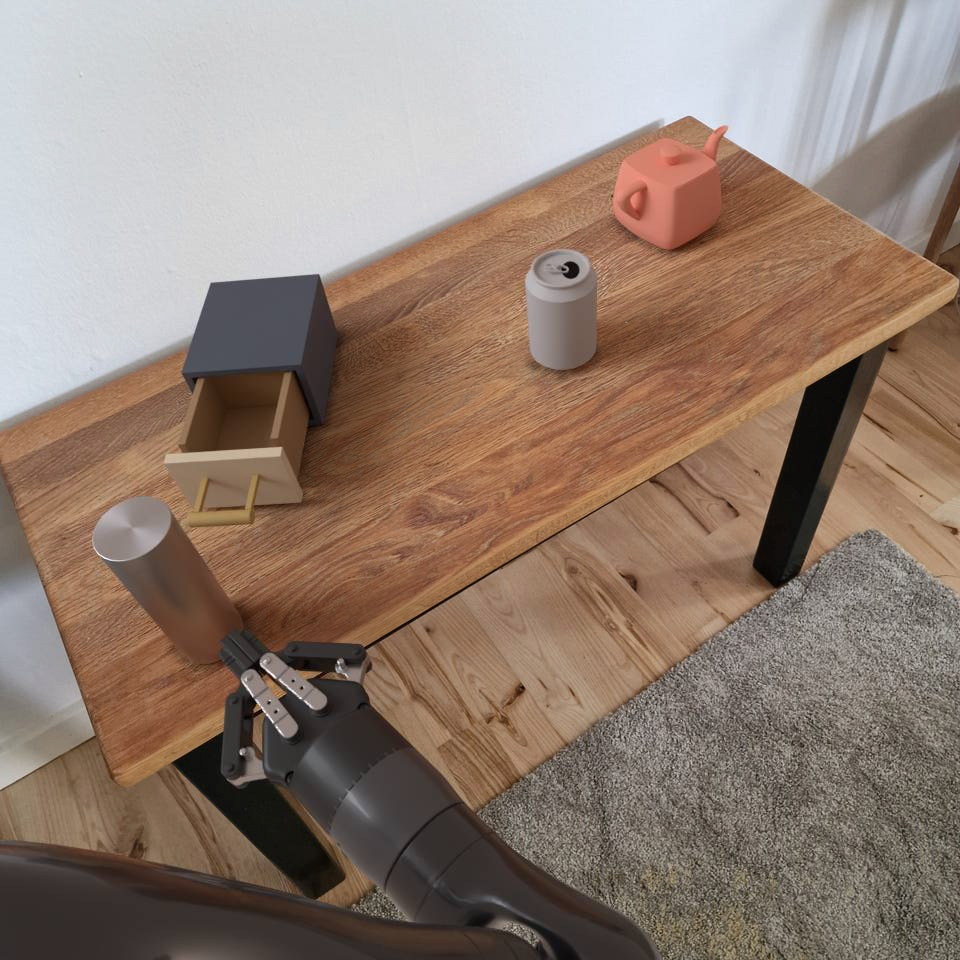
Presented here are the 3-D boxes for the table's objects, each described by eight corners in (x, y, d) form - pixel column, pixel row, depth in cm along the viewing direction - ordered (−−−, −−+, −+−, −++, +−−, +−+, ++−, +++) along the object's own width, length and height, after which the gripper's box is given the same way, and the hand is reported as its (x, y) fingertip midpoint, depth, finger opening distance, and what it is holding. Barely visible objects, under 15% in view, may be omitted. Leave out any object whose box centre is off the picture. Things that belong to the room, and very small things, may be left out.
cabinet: (323, 424, 90) (301, 364, 83) (212, 432, 91) (180, 372, 84) (338, 335, 100) (319, 273, 92) (236, 342, 101) (210, 282, 93)
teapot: (586, 232, 107) (586, 158, 99) (687, 176, 113) (695, 102, 105) (648, 272, 101) (654, 197, 93) (751, 211, 106) (765, 135, 98)
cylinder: (172, 666, 74) (81, 563, 61) (187, 607, 77) (104, 498, 64) (237, 663, 73) (160, 559, 60) (249, 604, 77) (179, 493, 64)
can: (598, 373, 91) (600, 286, 82) (530, 377, 92) (524, 291, 82) (593, 327, 96) (594, 240, 86) (529, 332, 96) (523, 245, 87)
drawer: (293, 548, 79) (271, 503, 74) (179, 554, 80) (148, 510, 75) (318, 405, 91) (300, 356, 85) (218, 411, 92) (194, 364, 86)
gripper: (444, 700, 53) (283, 555, 61) (281, 864, 48) (132, 680, 56) (460, 744, 58) (312, 606, 67) (317, 894, 53) (177, 723, 62)
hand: (230, 640), depth 62 cm, fingers closed
